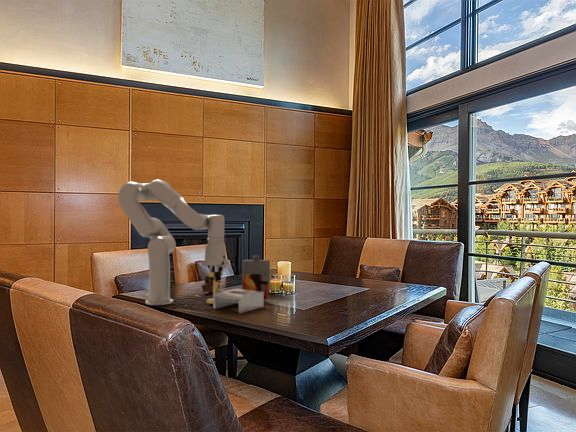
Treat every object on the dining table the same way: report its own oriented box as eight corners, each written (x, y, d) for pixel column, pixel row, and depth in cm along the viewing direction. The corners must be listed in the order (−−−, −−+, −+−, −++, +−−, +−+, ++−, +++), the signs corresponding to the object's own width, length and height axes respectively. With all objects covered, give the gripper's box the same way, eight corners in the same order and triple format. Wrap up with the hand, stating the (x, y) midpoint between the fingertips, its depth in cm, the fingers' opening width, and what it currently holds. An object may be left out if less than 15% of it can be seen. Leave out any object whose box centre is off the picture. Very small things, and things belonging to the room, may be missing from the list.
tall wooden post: (206, 302, 194) (207, 271, 194) (218, 300, 201) (219, 270, 201) (212, 303, 192) (212, 272, 192) (224, 301, 199) (224, 270, 199)
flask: (241, 293, 224) (241, 256, 224) (242, 291, 229) (243, 255, 230) (269, 293, 223) (269, 256, 223) (269, 291, 229) (270, 255, 229)
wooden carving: (208, 295, 218) (208, 276, 218) (200, 294, 219) (200, 275, 219) (222, 290, 234) (222, 272, 234) (214, 289, 235) (214, 271, 235)
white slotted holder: (213, 308, 186) (213, 293, 186) (236, 302, 200) (236, 288, 200) (240, 313, 177) (240, 297, 177) (263, 306, 191) (263, 291, 191)
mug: (267, 302, 201) (267, 277, 201) (239, 301, 204) (240, 276, 204) (271, 298, 211) (271, 274, 211) (245, 297, 213) (245, 273, 213)
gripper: (198, 240, 198) (197, 279, 198) (223, 241, 189) (223, 282, 189) (209, 240, 204) (209, 277, 204) (234, 241, 195) (234, 280, 195)
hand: (215, 279), depth 196 cm, fingers closed on tall wooden post, 2 cm apart
